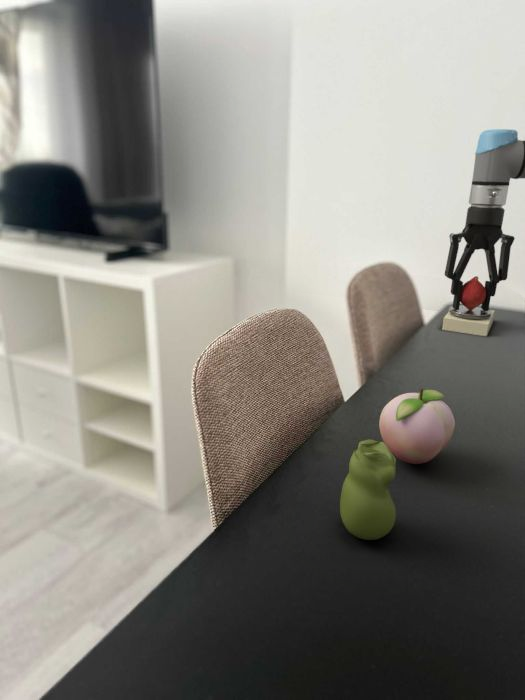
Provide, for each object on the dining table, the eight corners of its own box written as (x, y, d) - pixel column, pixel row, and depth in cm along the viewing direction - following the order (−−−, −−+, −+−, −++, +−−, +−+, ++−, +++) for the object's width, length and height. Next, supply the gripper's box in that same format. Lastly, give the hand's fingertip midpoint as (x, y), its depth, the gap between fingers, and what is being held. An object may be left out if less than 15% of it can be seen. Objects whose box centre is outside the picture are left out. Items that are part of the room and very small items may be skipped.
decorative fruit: (396, 437, 69) (404, 368, 66) (456, 459, 64) (468, 386, 61) (361, 465, 63) (368, 390, 59) (425, 491, 58) (436, 411, 54)
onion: (458, 312, 118) (463, 277, 115) (455, 306, 123) (460, 273, 120) (485, 314, 116) (490, 279, 114) (481, 308, 122) (486, 274, 119)
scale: (452, 316, 130) (454, 302, 129) (492, 322, 126) (495, 308, 125) (441, 330, 119) (444, 315, 117) (486, 337, 114) (489, 321, 113)
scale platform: (452, 306, 126) (452, 303, 126) (492, 311, 122) (493, 308, 121) (445, 314, 118) (446, 311, 118) (488, 320, 114) (489, 317, 114)
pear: (332, 516, 53) (339, 430, 50) (382, 514, 54) (392, 428, 50) (346, 553, 48) (354, 460, 45) (401, 551, 48) (413, 458, 45)
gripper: (446, 206, 109) (432, 311, 117) (538, 208, 108) (518, 314, 115) (438, 204, 116) (425, 303, 124) (524, 206, 115) (505, 306, 122)
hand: (470, 308), depth 120 cm, fingers closed on onion, 6 cm apart
